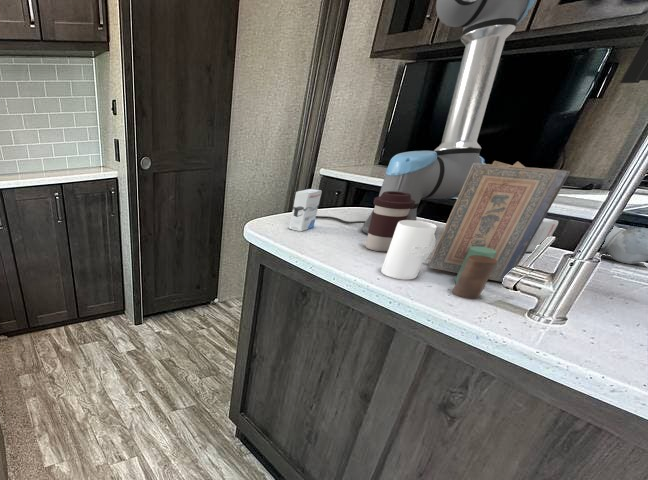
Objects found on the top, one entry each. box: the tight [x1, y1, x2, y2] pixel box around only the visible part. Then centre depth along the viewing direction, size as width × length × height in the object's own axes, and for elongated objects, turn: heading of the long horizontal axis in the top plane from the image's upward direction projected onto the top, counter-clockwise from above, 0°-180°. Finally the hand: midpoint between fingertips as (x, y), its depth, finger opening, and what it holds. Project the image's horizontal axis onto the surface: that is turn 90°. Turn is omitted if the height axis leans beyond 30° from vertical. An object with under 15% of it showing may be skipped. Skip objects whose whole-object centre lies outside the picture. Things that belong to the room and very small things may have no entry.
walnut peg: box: [452, 255, 497, 299], centre depth 86 cm, size 5×5×8 cm
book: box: [427, 160, 571, 283], centre depth 92 cm, size 17×7×25 cm, turn 55°
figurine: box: [598, 225, 648, 265], centre depth 104 cm, size 10×9×15 cm
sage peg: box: [454, 246, 497, 284], centre depth 91 cm, size 5×5×8 cm
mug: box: [380, 219, 438, 280], centre depth 96 cm, size 8×12×12 cm
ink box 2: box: [525, 217, 559, 253], centre depth 112 cm, size 9×5×12 cm
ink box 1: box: [288, 188, 323, 232], centre depth 131 cm, size 8×5×12 cm, turn 132°
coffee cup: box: [365, 191, 415, 253], centre depth 112 cm, size 10×10×15 cm
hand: (637, 82), depth 76 cm, fingers open, 13 cm apart
